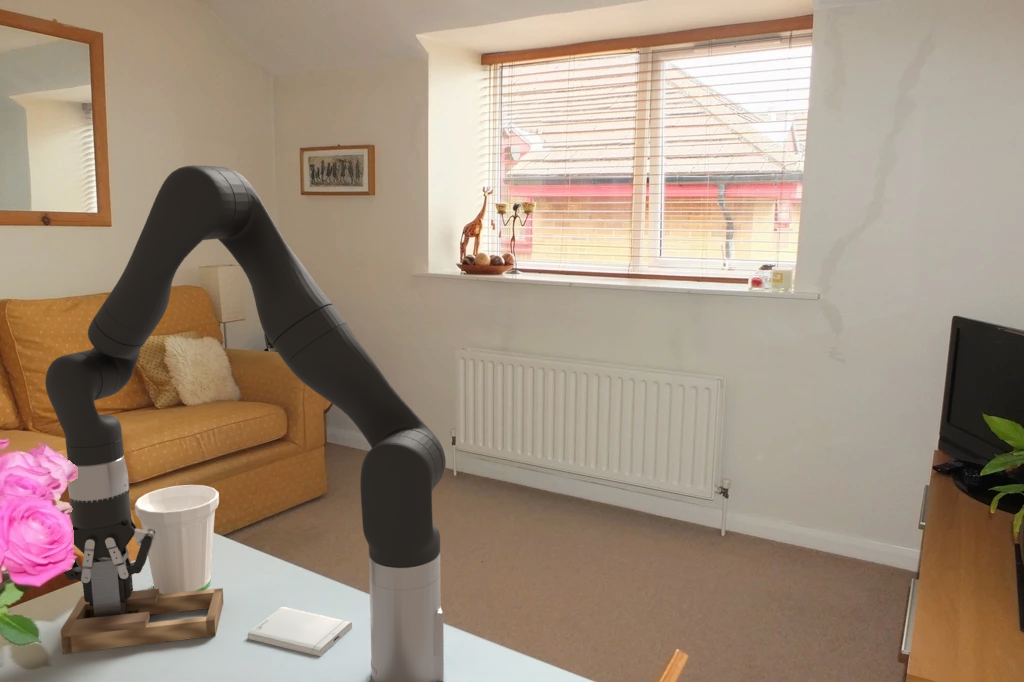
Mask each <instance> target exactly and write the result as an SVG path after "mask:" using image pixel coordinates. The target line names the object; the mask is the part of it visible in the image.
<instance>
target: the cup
mask: <svg viewBox="0 0 1024 682" xmlns="http://www.w3.org/2000/svg"><path fill="white" fill-rule="evenodd" d="M219 493H220V492H219V491H218V490H217V489H215V488H214V487H212V486H207V485H203V484H200V485H199V484H185V485H172V486H169V487H164V488H158V489H156V490H153V491H150V492H148V493H145V494H143V495H142V496H140V497H139V498H137V499H136V502H135V503H134V511H135V512H134V513H135V515H136V516H137V518H138V519H139V520H140V524H141V530H145V531H148V530H149V529H153V530H155V536H154V539H153V542H152V545H151V547H150V550H149V553H148V556H147V558H148V562H149V567H150V568H149V569H150V573H151V578H152V582H153V589H159V594H170V593H180V592H190V591H199V590H207V588H208V587H209V586H210V584H211V575H212V561H213V559H212V558H213V557H212V556H213V547H214V546H213V545H214V530H215V529H214V528H215V515H216V514H215V513H216V509H217V508H218V507H219V503H220V495H219Z"/></svg>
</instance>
